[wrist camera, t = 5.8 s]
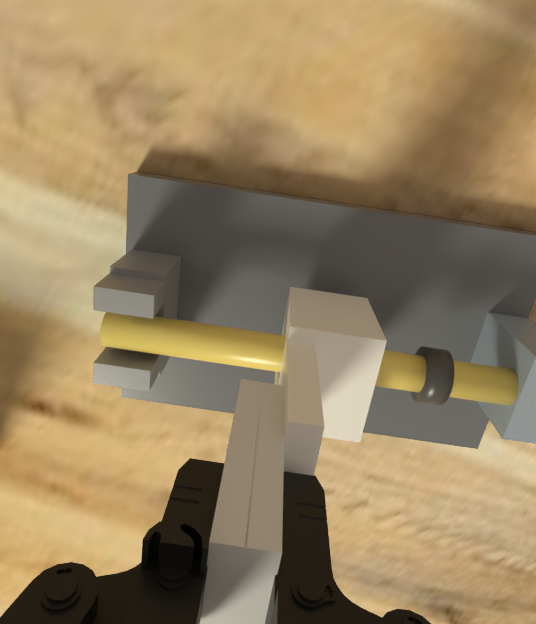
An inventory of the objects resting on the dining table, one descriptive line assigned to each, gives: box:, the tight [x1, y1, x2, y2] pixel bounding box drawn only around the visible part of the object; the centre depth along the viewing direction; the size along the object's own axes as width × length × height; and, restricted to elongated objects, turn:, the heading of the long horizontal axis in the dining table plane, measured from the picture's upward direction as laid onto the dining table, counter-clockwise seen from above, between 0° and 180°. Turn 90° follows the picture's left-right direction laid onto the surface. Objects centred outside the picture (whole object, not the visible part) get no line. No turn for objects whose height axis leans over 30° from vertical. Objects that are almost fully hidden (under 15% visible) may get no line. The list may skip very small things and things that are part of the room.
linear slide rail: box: [93, 172, 536, 449], centre depth 22 cm, size 12×20×6 cm, turn 82°
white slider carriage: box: [275, 287, 387, 476], centre depth 18 cm, size 5×4×10 cm
